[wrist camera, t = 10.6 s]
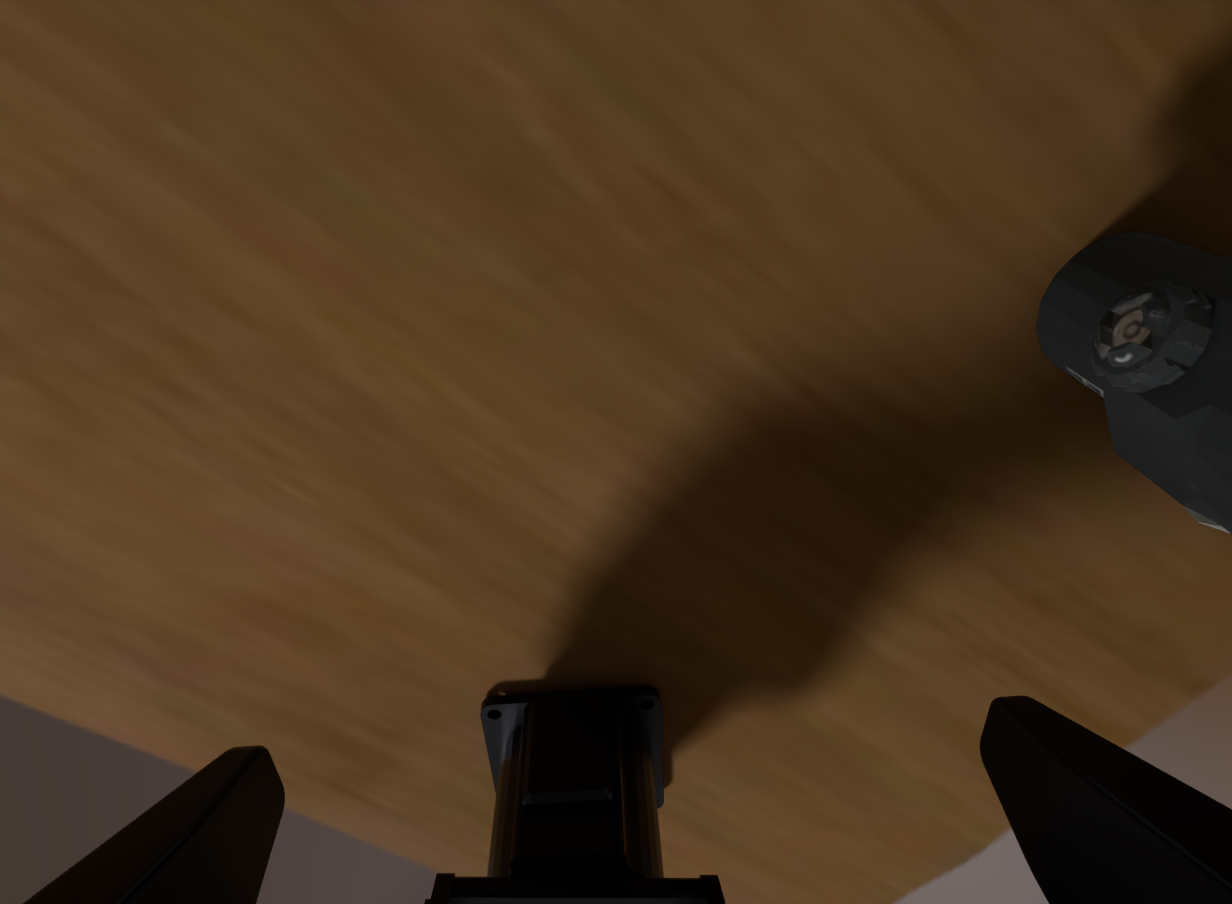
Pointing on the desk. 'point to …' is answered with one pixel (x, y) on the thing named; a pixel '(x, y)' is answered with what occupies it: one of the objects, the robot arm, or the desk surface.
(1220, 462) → the scope
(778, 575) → the desk surface
